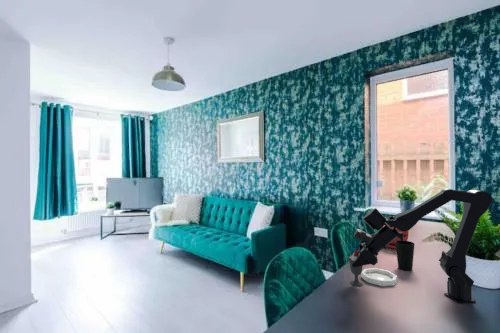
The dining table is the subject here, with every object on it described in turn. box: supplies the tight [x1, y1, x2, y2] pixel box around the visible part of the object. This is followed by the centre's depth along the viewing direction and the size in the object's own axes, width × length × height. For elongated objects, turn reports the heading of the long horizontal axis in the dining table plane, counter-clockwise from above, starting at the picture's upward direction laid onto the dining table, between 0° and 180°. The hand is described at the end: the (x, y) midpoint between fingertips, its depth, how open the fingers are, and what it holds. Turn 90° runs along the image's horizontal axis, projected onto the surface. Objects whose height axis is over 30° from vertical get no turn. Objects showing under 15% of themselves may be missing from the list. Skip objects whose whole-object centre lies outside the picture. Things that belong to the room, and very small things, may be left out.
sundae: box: [347, 247, 364, 287], centre depth 106 cm, size 7×7×15 cm
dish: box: [360, 267, 398, 287], centre depth 110 cm, size 13×13×2 cm
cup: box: [395, 240, 415, 272], centre depth 121 cm, size 8×8×12 cm
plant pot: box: [382, 224, 409, 250], centre depth 154 cm, size 13×13×12 cm
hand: (352, 263), depth 107 cm, fingers open, 7 cm apart
